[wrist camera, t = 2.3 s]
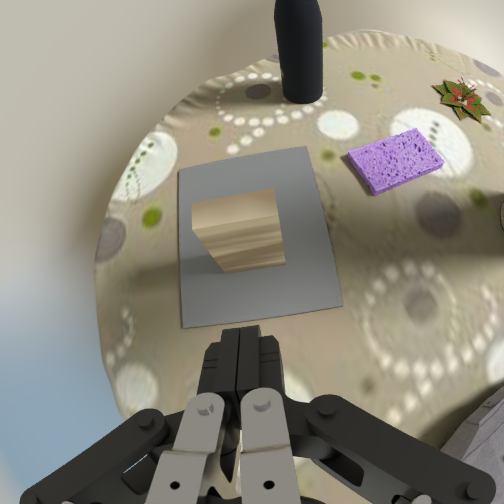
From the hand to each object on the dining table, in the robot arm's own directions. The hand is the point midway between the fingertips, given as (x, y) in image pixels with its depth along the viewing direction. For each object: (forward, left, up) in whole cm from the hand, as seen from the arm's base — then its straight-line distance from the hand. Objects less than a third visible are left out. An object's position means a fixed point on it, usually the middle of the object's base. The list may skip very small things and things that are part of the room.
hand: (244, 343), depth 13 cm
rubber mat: (-11, -11, -21) cm, 26 cm away
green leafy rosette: (-52, +7, -22) cm, 57 cm away
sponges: (-30, +1, -22) cm, 37 cm away
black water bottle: (-36, -17, -21) cm, 45 cm away
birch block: (-8, -8, -21) cm, 24 cm away
